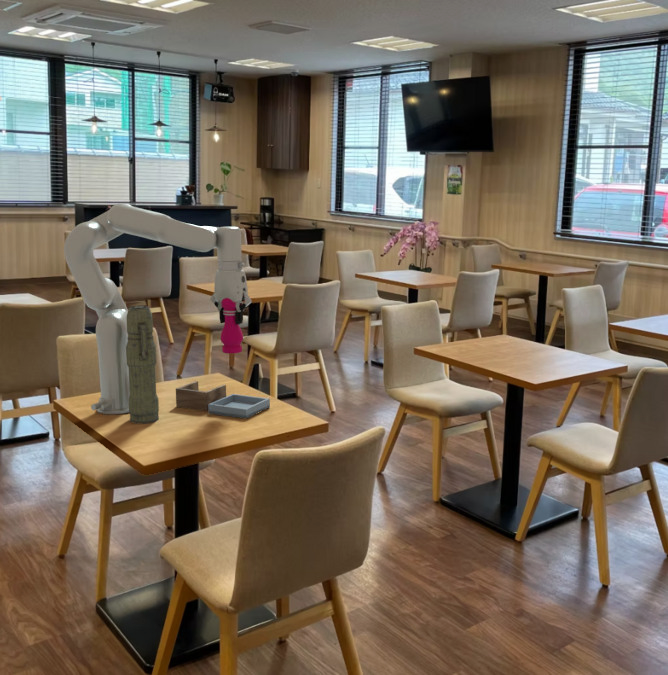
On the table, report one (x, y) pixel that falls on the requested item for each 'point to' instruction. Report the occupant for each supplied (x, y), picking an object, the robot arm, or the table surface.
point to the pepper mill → (231, 328)
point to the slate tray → (238, 406)
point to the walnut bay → (198, 396)
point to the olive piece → (141, 365)
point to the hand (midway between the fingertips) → (231, 322)
